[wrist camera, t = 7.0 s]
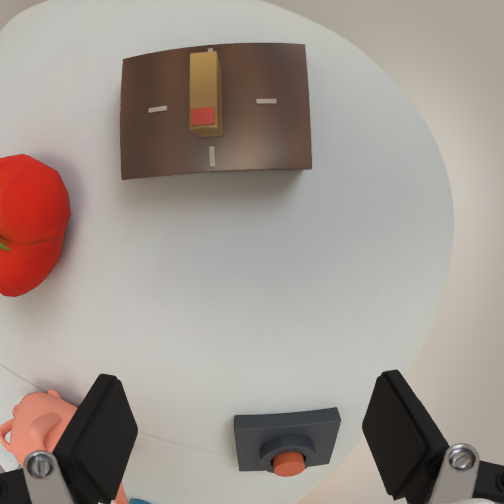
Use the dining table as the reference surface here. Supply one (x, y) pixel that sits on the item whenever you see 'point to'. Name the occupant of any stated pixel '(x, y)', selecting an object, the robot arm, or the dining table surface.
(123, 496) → the teapot
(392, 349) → the dining table surface
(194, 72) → the lock knob
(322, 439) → the button box
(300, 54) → the plate
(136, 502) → the cup
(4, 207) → the tomato
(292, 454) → the round orange push button
